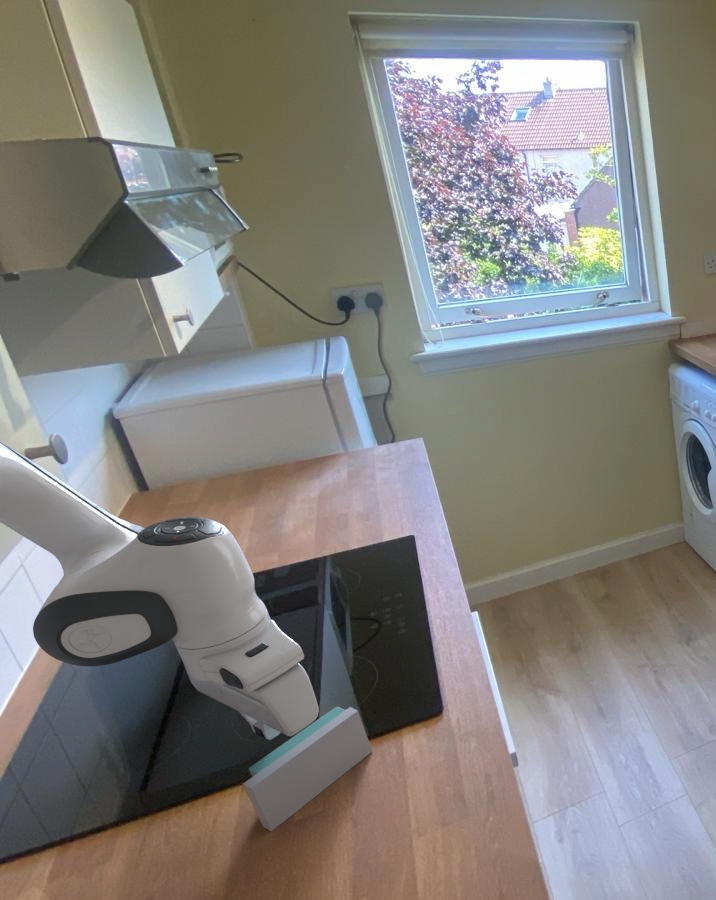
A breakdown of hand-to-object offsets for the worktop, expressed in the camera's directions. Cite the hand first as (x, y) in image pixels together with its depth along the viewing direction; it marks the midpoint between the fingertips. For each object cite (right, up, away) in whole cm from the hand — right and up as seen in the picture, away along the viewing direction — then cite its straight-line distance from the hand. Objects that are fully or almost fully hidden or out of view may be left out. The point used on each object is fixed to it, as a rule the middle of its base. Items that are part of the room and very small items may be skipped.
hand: (268, 733), depth 91 cm
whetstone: (+6, -6, 0) cm, 8 cm away
